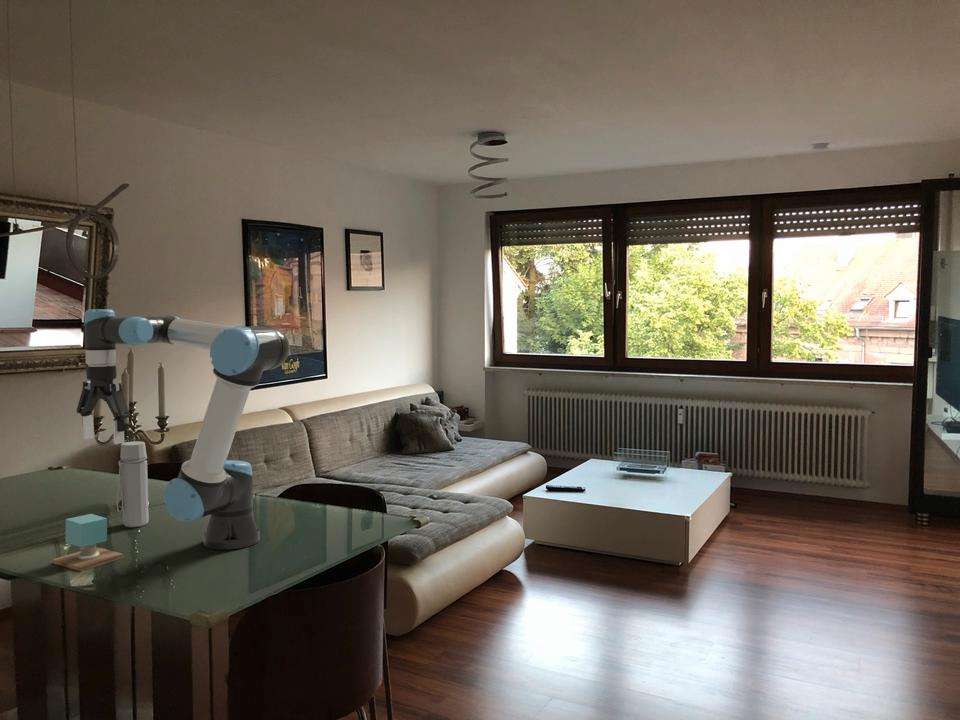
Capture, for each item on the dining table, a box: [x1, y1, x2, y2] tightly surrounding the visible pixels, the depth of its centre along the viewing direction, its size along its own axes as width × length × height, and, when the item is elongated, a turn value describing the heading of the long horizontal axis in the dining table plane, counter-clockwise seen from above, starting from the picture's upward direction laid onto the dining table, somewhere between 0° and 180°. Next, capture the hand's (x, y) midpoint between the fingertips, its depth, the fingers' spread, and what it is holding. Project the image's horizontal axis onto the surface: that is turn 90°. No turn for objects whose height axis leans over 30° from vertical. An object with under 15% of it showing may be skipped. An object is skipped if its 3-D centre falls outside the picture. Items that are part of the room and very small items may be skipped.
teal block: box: [64, 513, 108, 548], centre depth 198 cm, size 7×7×6 cm
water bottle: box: [115, 440, 150, 528], centre depth 230 cm, size 9×8×25 cm
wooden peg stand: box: [51, 544, 125, 572], centre depth 199 cm, size 12×12×10 cm
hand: (103, 441), depth 212 cm, fingers open, 13 cm apart
